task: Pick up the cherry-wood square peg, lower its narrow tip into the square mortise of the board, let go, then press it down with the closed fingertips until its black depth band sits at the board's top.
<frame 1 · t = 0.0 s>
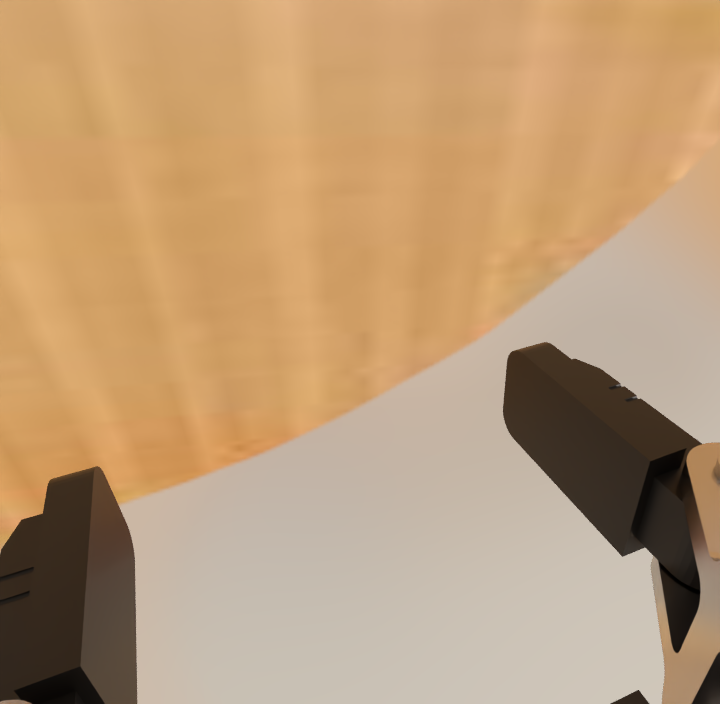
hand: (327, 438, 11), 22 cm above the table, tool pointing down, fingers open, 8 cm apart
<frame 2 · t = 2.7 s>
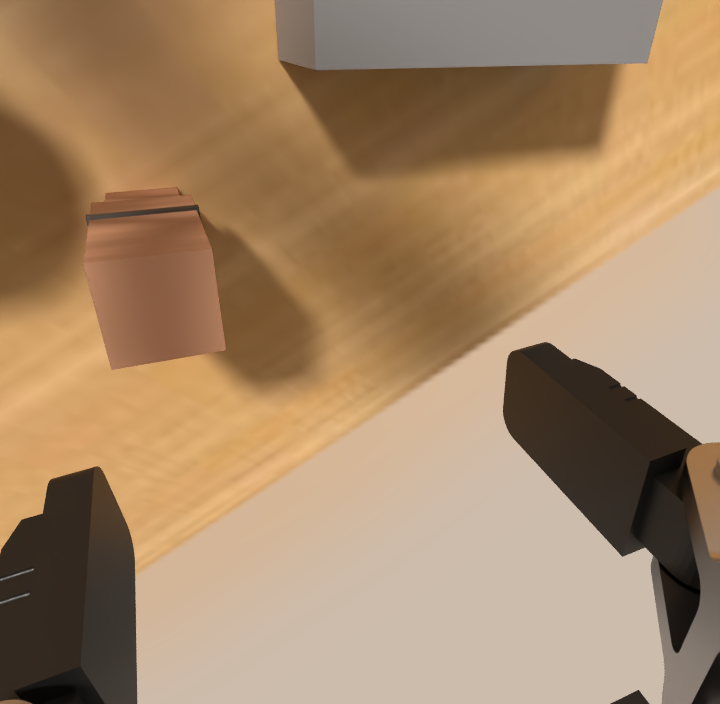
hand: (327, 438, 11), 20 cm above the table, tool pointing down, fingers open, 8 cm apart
peg: (148, 223, 27), on the table
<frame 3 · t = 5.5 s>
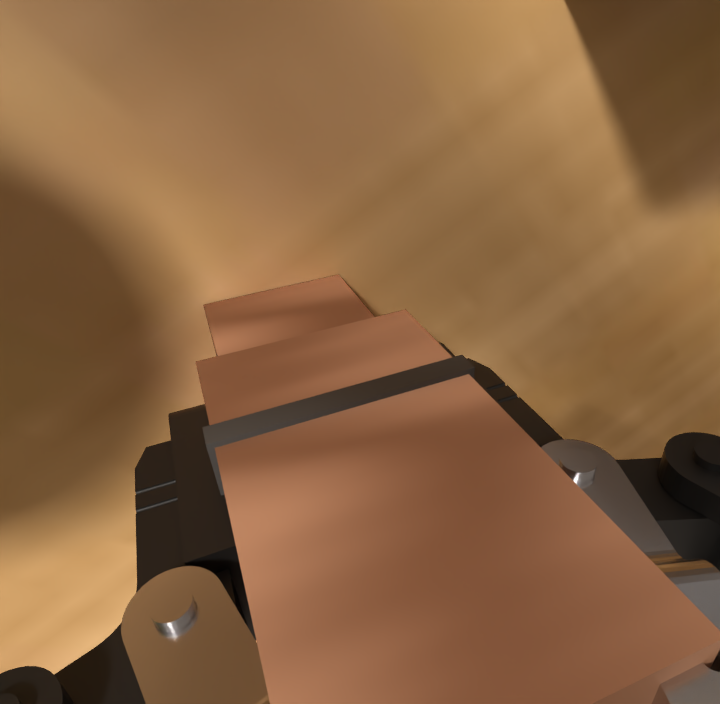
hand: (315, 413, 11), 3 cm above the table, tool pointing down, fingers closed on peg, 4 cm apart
peg: (283, 347, 14), on the table, touching gripper
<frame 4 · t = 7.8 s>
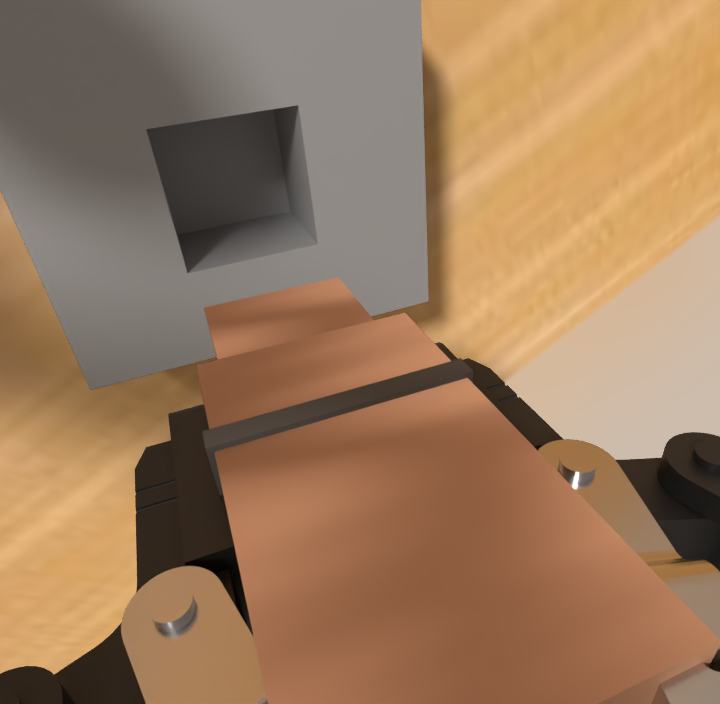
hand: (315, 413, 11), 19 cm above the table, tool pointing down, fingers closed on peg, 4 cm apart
mortise board: (219, 160, 26), on the table
peg: (283, 349, 14), point 16 cm above the table, touching gripper
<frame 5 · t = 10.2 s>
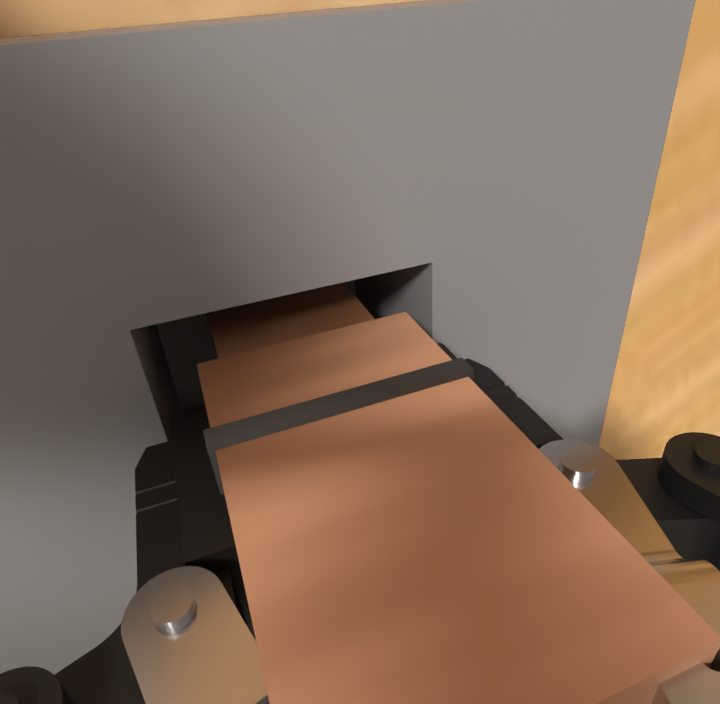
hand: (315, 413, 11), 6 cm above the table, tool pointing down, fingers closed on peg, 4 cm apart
mortise board: (255, 297, 16), on the table
peg: (284, 349, 14), point 3 cm above the table, touching gripper
when the fingers open (6 cm above the table, at t = 10.6 s): peg drops 2 cm, resting on mortise board.
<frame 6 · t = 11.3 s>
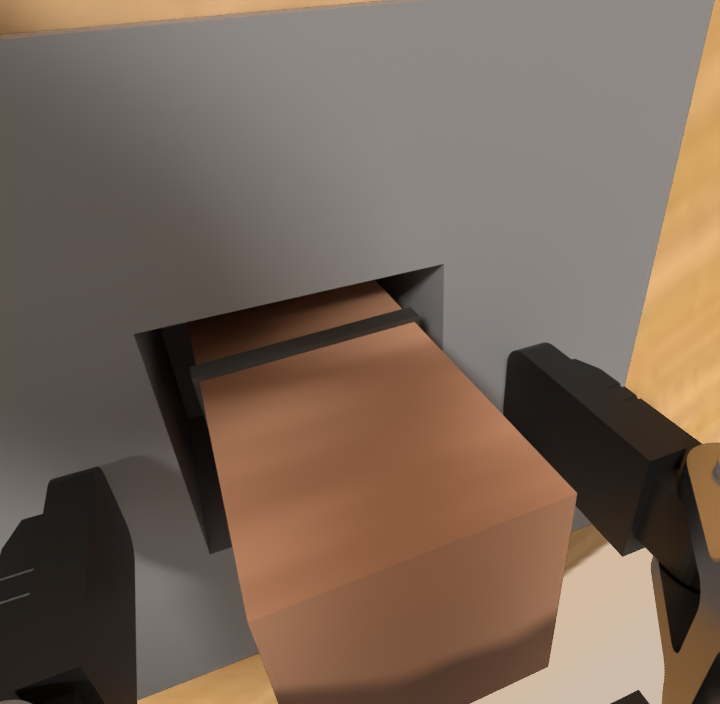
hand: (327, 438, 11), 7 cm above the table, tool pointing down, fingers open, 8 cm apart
mortise board: (260, 298, 16), on the table
peg: (269, 315, 15), point 1 cm above the table, touching mortise board
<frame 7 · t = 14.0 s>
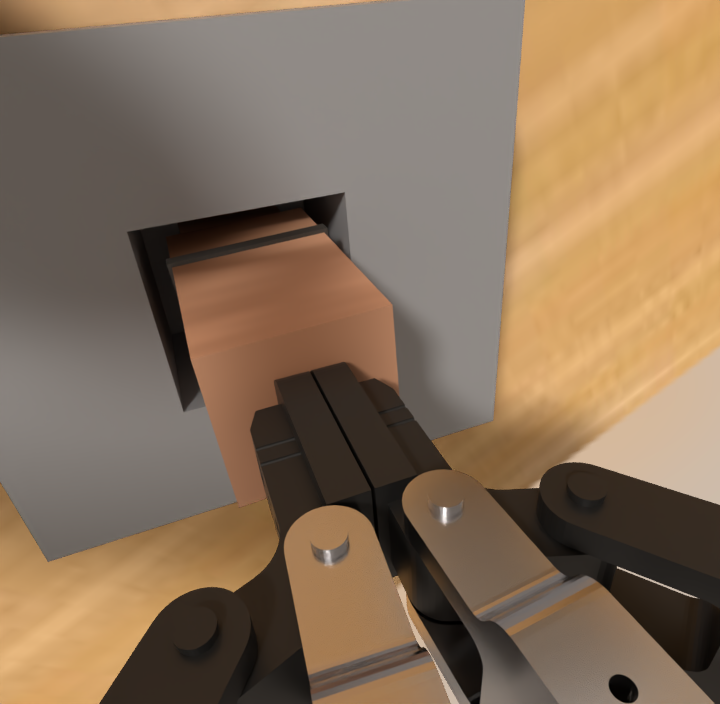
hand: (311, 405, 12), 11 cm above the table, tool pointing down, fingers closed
mortise board: (227, 239, 20), on the table
peg: (233, 250, 20), point 1 cm above the table, touching gripper, mortise board
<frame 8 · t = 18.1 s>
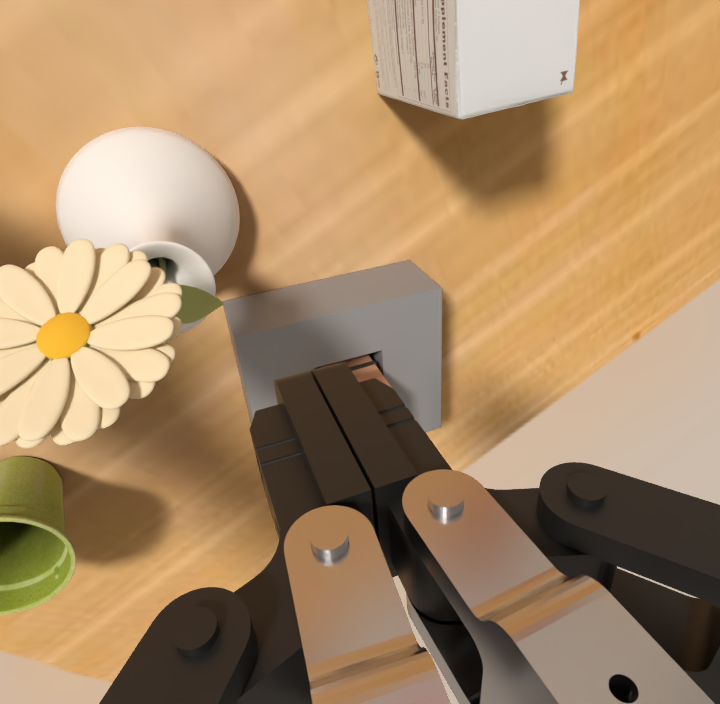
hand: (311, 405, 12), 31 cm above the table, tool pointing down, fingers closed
mortise board: (329, 351, 49), on the table
flower in vase: (139, 209, 38), on the table
plant pot: (19, 482, 45), on the table
supplement box: (415, 28, 38), on the table
peg: (333, 357, 48), point 1 cm above the table, touching mortise board
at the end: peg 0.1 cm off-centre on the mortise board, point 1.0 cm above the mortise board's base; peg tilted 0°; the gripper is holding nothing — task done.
